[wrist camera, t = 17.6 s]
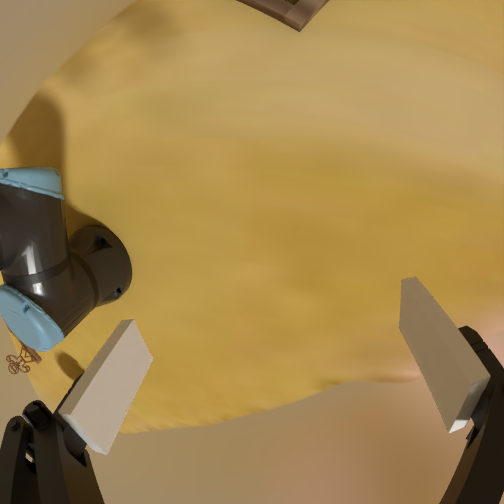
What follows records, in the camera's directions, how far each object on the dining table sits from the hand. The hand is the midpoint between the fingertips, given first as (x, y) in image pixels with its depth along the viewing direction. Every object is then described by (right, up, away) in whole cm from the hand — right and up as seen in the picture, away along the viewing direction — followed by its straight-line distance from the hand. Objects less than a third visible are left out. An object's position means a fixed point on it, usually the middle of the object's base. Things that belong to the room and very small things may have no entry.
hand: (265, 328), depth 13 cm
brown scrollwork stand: (-70, -28, +55) cm, 93 cm away
